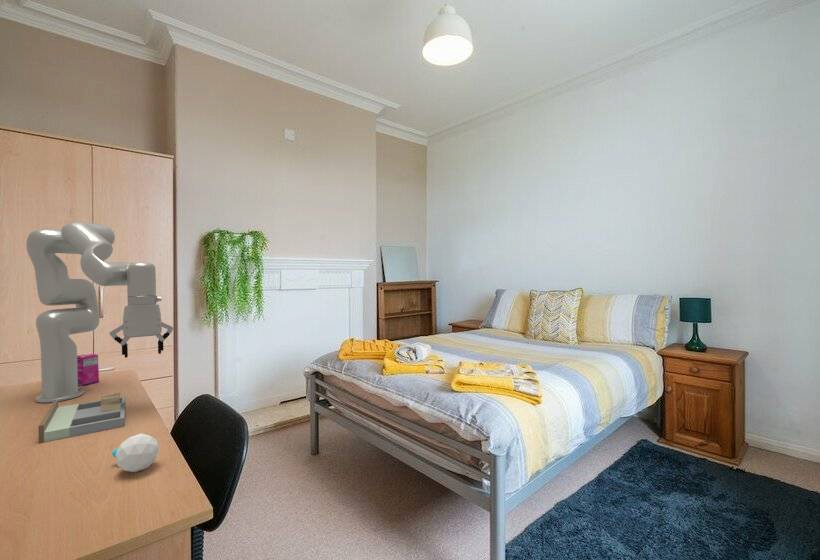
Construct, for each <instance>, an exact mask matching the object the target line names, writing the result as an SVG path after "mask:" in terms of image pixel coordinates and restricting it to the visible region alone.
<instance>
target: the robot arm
mask: <svg viewBox="0 0 820 560" xmlns="http://www.w3.org/2000/svg"><path fill="white" fill-rule="evenodd" d="M114 232H115V231H113V230H112V228H111V227H109V226H107V225H106V224H102V223H93V222H83V221H72V222H68V223H66V224H65V225H63V226H62V228H61V229H57V228H38V229H35V230H32V231H31V232H30V233H29V234H28V236H27V238H26V242H25V244H26V245H25V246H26V251H27V255H28V257H29V258H30V261H31V263H32V265H33V269H34V276H35V281H36V289H37V296H38V299H39V301H40V303H41V304H42V305H45V306H53V307H55V306H56V307H57V306H69V305H75V307H71V308H70V307H68V308H67V307H66V308H57V309H49V310H46V311H44V312H41V313H39V314H38V315H37V317H36V319H35V326H36V331H37V334H38V340H39V344H40V345H39V346H40V369H41V370H40V375H41V376H40V377H41V393H40V394H38V396H36V397H35V402H37V403H39V404H40V403H42V404H44V403H46V404H47V403H53V401H58V402H62V401H67V400H71V399H75V398H77V397H80V396H82V395H83V394H84V389H82V388H79V385H78V369H77V356H78V345H77V344H76V343H75V341H74V340H73V339H72V338H71V337H70V336H71V335H75V334H83V333H84V334H85V333H90V332H92V331H94V330H96V329H97V328H98V327H99V325H100V311H99V310H100V309H99V304H98V296H97V291H96V288H95V285H94V284H93V283H95V284H96V285H98V286H101V287H115V286H116V287H117V286H126V291H127V305H125V306H124V310H123V315H122V319H123V320H122V324H121V325H120V326H118V327H116V328H114V329H113V330H111V331H110V332H109V336H111V337H112V339H113V340H114V341H115V342H116V343H118V344H120V345H121V355H122V356H124V358H125V359H126V358H128V356H129V355H128V354H129V351H128V343H127V342H128V341H129V340H130V339H131V338H142V337H143V338H145V337H153V336H155V337H156V338H157V339H158V341H157V353H158V354H159V355H161V354H162V352H164V341H165V340H166V339H167V338H168V337H169V336H170V335H171V333H172V332H173V331H174V329H175V328H174V327H173V326H171V325H169V324H167V323H165V322H163V321H162V314H161V309H160V308H161V307H160V305H159V304H157V303H159V302H162V297H161V296H157V282H156V281H157V277H156V274H157V273H156V272H157V271H156V270H157V269H156V266H155V264H154V263H150V262H147V263H146V262H121V261H120V262H115V261H114V262H113V261H109V262H108V261H106V260H108V258H110V257H111V256H112V254H113V250H114V248H113V244H114V242H115V239H116V236H115V233H114ZM57 254H68V255H69V254H70V255H71V254H72V255H80V256H81V257H80V267H81V270H82V273H83V275H85V276H86V277H87V278H88V279H85V278H71V277H70V276H69V272H68V271H69V270H68V267H67V265H66V263H65V262H64V261H63V259H62V258H60V257H59V256H58V255H57ZM105 261H106V262H105ZM90 280H91V281H92V282H93V283H92V282H91V281H90ZM162 328H164V329H167V330H166V332H165V333H164V334H163V335H162ZM121 331H122V335H123V336H124V337H123V338H122V337H120V336H119V335H118V334H117V333H119V332H121Z"/></svg>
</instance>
